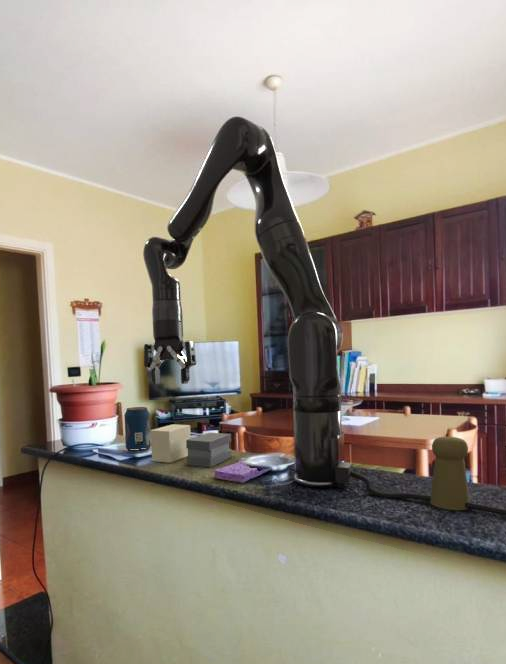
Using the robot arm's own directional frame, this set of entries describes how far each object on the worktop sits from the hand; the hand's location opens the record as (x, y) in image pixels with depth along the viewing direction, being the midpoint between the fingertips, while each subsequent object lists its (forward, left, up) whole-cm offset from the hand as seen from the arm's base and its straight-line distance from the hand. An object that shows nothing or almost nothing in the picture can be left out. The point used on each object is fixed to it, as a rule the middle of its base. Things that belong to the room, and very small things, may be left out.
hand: (170, 383), depth 109 cm
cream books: (+1, 0, -19) cm, 19 cm away
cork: (-62, +13, -19) cm, 67 cm away
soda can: (+15, -4, -19) cm, 25 cm away
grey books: (-10, 0, -19) cm, 22 cm away
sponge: (-23, +8, -19) cm, 31 cm away
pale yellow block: (+1, 0, -14) cm, 14 cm away
